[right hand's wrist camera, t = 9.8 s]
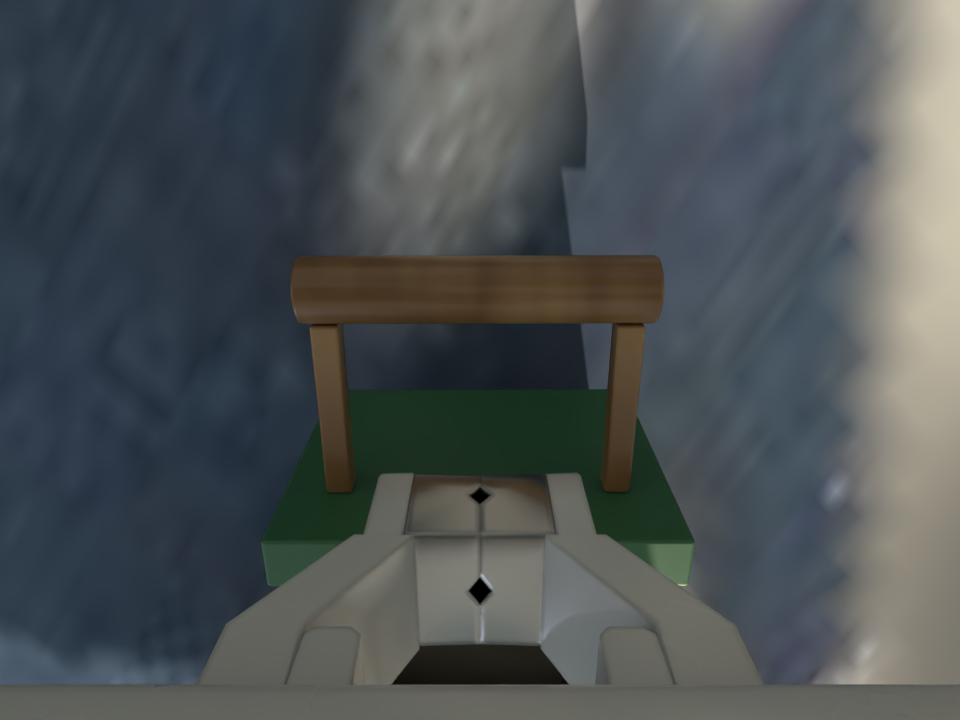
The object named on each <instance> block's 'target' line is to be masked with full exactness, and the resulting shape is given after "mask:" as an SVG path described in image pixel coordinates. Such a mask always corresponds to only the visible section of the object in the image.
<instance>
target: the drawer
mask: <svg viewBox="0 0 960 720" xmlns="http://www.w3.org/2000/svg"><path fill="white" fill-rule="evenodd" d="M290 295H291V303H292V308H293V312H294V315H295V318H296V320H297V321H298V322H299V323H302V324H312V325H311V326H310V329H309V330H310V339H311V349H312V358H313V367H314V377H315V386H316V396H317V405H318V415H319V420H318V422H317V424H316V426H315V428H314V430H313V432H312V435H311V437H310V439H309V441H308V443H307V445H306V447H305V449H304V452H303V454H302V456H301V458H300V460H299V462H298V464H297V466H296V469H295V471H294V473H293V475H292V477H291V479H290V481H289V483H288V486H287V488H286V490H285V492H284V494H283V496H282V498H281V500H280V503H279V505H278V507H277V509H276V511H275V513H274V515H273V517H272V520H271V522H270V524H269V526H268V528H267V530H266V532H265V534H264V537H263V539H262V541H261V547H262V553H263V560H264V566H265V572H266V579H267V584H268V586H281V585H282V584H284V583H285V582H287V581H288V580H289V579H291V578H292V577H294V576H295V575H297V574H298V573H299V572H301V571H302V570H304V569H305V568H307V567H308V566H310V565H311V564H312V563H314V562H315V561H317V560H318V559H320V558H321V557H322V556H324V555H325V554H327V553H328V552H330V551H331V550H332V549H334V548H335V547H337V546H338V545H340V544H341V543H342V542H344V541H345V540H347V539H348V538H350V537H351V536H353V535H362V534H364V530H365V526H366V523H367V519H368V515H369V511H370V508H371V504H372V500H373V497H374V493H375V489H376V485H377V482H378V478H379V476H380V475H381V474H382V473H414V475H415V474H416V473H426V474H478V475H507V474H553V473H578V474H580V475H581V479H582V483H583V486H584V490H585V494H586V497H587V501H588V505H589V508H590V512H591V516H592V519H593V523H594V527H595V530H596V534H598V535H608V536H609V537H610V538H612V539H613V540H615V541H616V542H618V543H619V544H620V545H622V546H623V547H625V548H626V549H627V550H629V551H630V552H632V553H633V554H635V555H636V556H637V557H639V558H640V559H642V560H643V561H645V562H646V563H647V564H649V565H650V566H652V567H653V568H655V569H656V570H657V571H659V572H660V573H662V574H663V575H665V576H666V577H667V578H669V579H670V580H672V581H673V582H675V583H676V584H677V585H679V586H686V585H688V584H689V578H690V571H691V565H692V558H693V551H694V544H695V541H694V539H693V537H692V534H691V532H690V530H689V528H688V526H687V524H686V521H685V519H684V517H683V515H682V513H681V510H680V508H679V506H678V504H677V502H676V500H675V497H674V495H673V493H672V491H671V489H670V487H669V484H668V482H667V480H666V478H665V476H664V474H663V471H662V469H661V467H660V465H659V463H658V461H657V458H656V456H655V454H654V452H653V450H652V448H651V445H650V443H649V441H648V439H647V437H646V435H645V432H644V430H643V428H642V426H641V424H640V422H639V419H638V417H637V409H638V399H639V389H640V378H641V368H642V358H643V348H644V338H645V326H644V324H643V323H654V322H656V321H657V320H658V318H659V316H660V313H661V310H662V306H663V299H664V274H663V268H662V265H661V262H660V259H659V258H658V257H657V256H655V255H485V256H299V257H297V258H296V259H295V261H294V263H293V267H292V271H291V279H290ZM512 323H613V324H612V337H611V350H610V362H609V375H608V388H607V389H606V390H348V383H347V371H346V359H345V348H344V336H343V324H512ZM391 685H569V684H568V682H567V681H566V680H565V679H564V677H563V676H562V675H561V674H560V672H559V671H558V670H557V669H556V667H555V666H554V665H553V664H552V662H551V661H550V660H549V659H548V657H547V656H546V655H545V653H544V652H543V651H542V650H541V646H524V645H487V644H471V645H435V646H419V650H418V652H417V653H416V654H415V655H414V657H413V658H412V659H411V660H410V662H409V663H408V664H407V665H406V667H405V668H404V669H403V670H402V672H401V673H400V674H399V675H398V677H397V678H396V679H395V680H394V682H393V683H392V684H391Z"/></svg>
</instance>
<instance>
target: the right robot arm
mask: <svg viewBox="0 0 960 720" xmlns="http://www.w3.org/2000/svg"><path fill="white" fill-rule="evenodd" d="M471 644H487V645H524V646H541V650H542V651H543V652H544V653H545V655H546V656H547V657H548V659H549V660H550V661H551V662H552V664H553V665H554V666H555V667H556V669H557V670H558V671H559V672H560V674H561V675H562V676H563V677H564V679H565V680H566V681H567V682H568V684H569V685H391V684H392V683H393V682H394V680H395V679H396V678H397V677H398V675H399V674H400V673H401V672H402V670H403V669H404V668H405V667H406V665H407V664H408V663H409V662H410V660H411V659H412V658H413V657H414V655H415V654H416V653H417V652H418V650H419V646H435V645H471ZM0 720H960V685H764V684H763V682H762V680H761V678H760V676H759V674H758V672H757V670H756V667H755V665H754V663H753V661H752V659H751V657H750V655H749V653H748V651H747V649H746V647H745V645H744V643H743V641H742V638H741V636H740V634H739V632H738V630H737V628H736V626H735V624H733V623H732V622H730V621H729V620H727V619H726V618H725V617H723V616H722V615H720V614H719V613H717V612H716V611H715V610H713V609H712V608H710V607H709V606H707V605H706V604H705V603H703V602H702V601H700V600H699V599H697V598H696V597H695V596H693V595H692V594H690V593H689V592H687V591H686V590H685V589H683V588H682V587H680V586H679V585H677V584H676V583H675V582H673V581H672V580H670V579H669V578H667V577H666V576H665V575H663V574H662V573H660V572H659V571H657V570H656V569H655V568H653V567H652V566H650V565H649V564H647V563H646V562H645V561H643V560H642V559H640V558H639V557H637V556H636V555H635V554H633V553H632V552H630V551H629V550H627V549H626V548H625V547H623V546H622V545H620V544H619V543H618V542H616V541H615V540H613V539H612V538H610V537H609V536H608V535H598V534H596V530H595V527H594V523H593V519H592V516H591V512H590V508H589V505H588V501H587V497H586V494H585V490H584V486H583V483H582V479H581V475H580V474H578V473H553V474H507V475H478V474H426V473H416V474H415V475H414V473H382V474H381V475H380V476H379V478H378V482H377V485H376V489H375V493H374V497H373V500H372V504H371V508H370V511H369V515H368V519H367V523H366V526H365V530H364V534H362V535H353V536H351V537H350V538H348V539H347V540H345V541H344V542H342V543H341V544H340V545H338V546H337V547H335V548H334V549H332V550H331V551H330V552H328V553H327V554H325V555H324V556H322V557H321V558H320V559H318V560H317V561H315V562H314V563H312V564H311V565H310V566H308V567H307V568H305V569H304V570H302V571H301V572H299V573H298V574H297V575H295V576H294V577H292V578H291V579H289V580H288V581H287V582H285V583H284V584H282V585H281V586H279V587H278V588H277V589H275V590H274V591H272V592H271V593H269V594H268V595H266V596H265V597H264V598H262V599H261V600H259V601H258V602H256V603H255V604H254V605H252V606H251V607H249V608H248V609H246V610H245V611H244V612H242V613H241V614H239V615H238V616H236V617H235V618H234V619H232V620H231V621H229V622H228V623H226V625H225V627H224V629H223V631H222V633H221V635H220V637H219V639H218V641H217V643H216V645H215V647H214V649H213V651H212V653H211V655H210V657H209V659H208V662H207V664H206V666H205V668H204V670H203V672H202V674H201V676H200V678H199V680H198V682H197V684H196V685H0Z"/></svg>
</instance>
